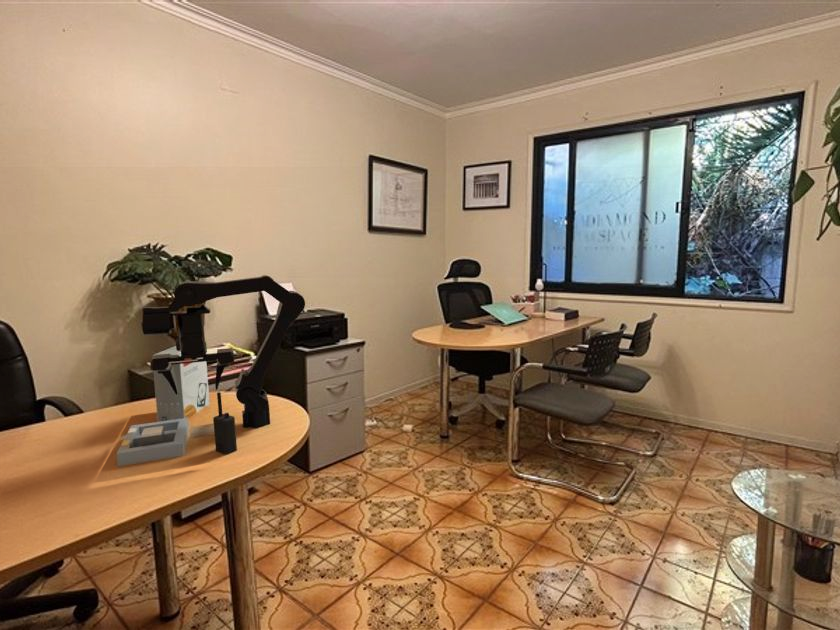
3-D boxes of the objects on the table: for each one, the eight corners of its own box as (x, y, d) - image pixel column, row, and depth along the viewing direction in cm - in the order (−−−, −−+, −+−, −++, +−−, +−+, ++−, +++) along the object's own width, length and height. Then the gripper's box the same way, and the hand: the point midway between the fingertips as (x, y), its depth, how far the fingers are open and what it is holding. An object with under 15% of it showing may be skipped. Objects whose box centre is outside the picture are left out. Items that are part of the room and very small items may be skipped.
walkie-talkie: (238, 453, 109) (233, 393, 107) (225, 459, 106) (220, 397, 104) (226, 449, 112) (221, 389, 109) (213, 454, 109) (208, 393, 107)
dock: (189, 431, 122) (188, 416, 121) (184, 459, 107) (182, 441, 106) (132, 440, 117) (131, 424, 116) (118, 470, 102) (116, 451, 101)
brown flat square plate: (220, 426, 126) (220, 422, 126) (219, 437, 118) (219, 433, 118) (191, 430, 123) (191, 426, 123) (189, 442, 116) (189, 438, 116)
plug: (165, 447, 111) (163, 425, 110) (163, 453, 107) (161, 432, 106) (146, 450, 109) (144, 428, 109) (143, 457, 106) (141, 435, 105)
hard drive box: (184, 425, 126) (177, 355, 123) (157, 425, 126) (149, 355, 123) (210, 405, 142) (205, 342, 139) (186, 405, 142) (180, 342, 139)
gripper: (231, 323, 126) (235, 378, 128) (153, 329, 119) (159, 387, 121) (231, 330, 116) (236, 390, 118) (147, 337, 109) (153, 400, 111)
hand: (197, 391), depth 118 cm, fingers open, 9 cm apart
